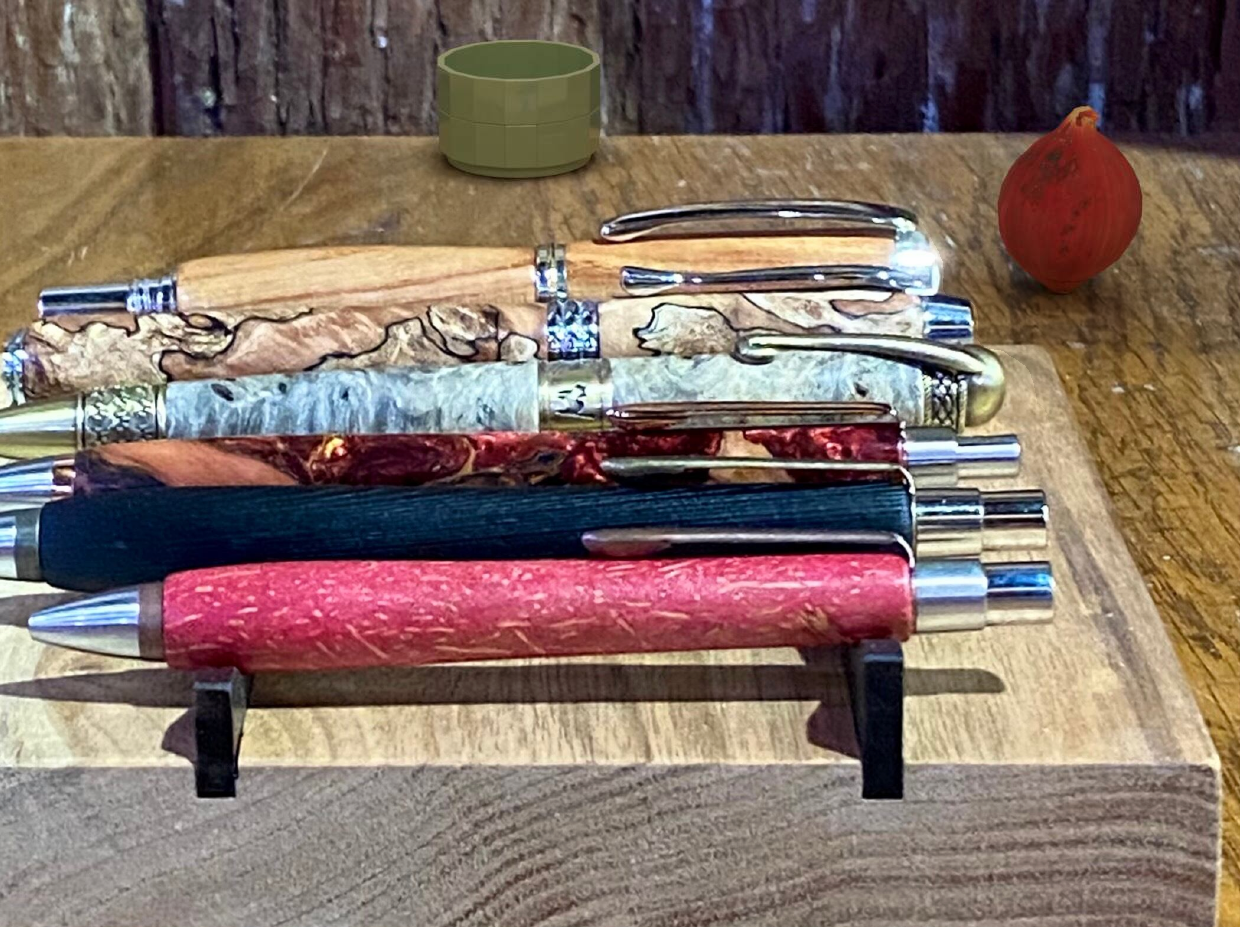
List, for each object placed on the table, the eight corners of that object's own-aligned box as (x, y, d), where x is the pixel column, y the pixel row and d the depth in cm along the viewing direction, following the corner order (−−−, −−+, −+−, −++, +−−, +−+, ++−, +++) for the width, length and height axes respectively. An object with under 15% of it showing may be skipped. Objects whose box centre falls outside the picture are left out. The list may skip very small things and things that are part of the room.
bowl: (594, 133, 119) (595, 38, 116) (603, 179, 112) (604, 79, 109) (440, 136, 119) (438, 41, 117) (439, 182, 112) (436, 82, 109)
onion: (1072, 327, 93) (1094, 135, 89) (961, 291, 97) (978, 106, 93) (1157, 294, 96) (1181, 109, 92) (1046, 261, 100) (1066, 82, 96)
